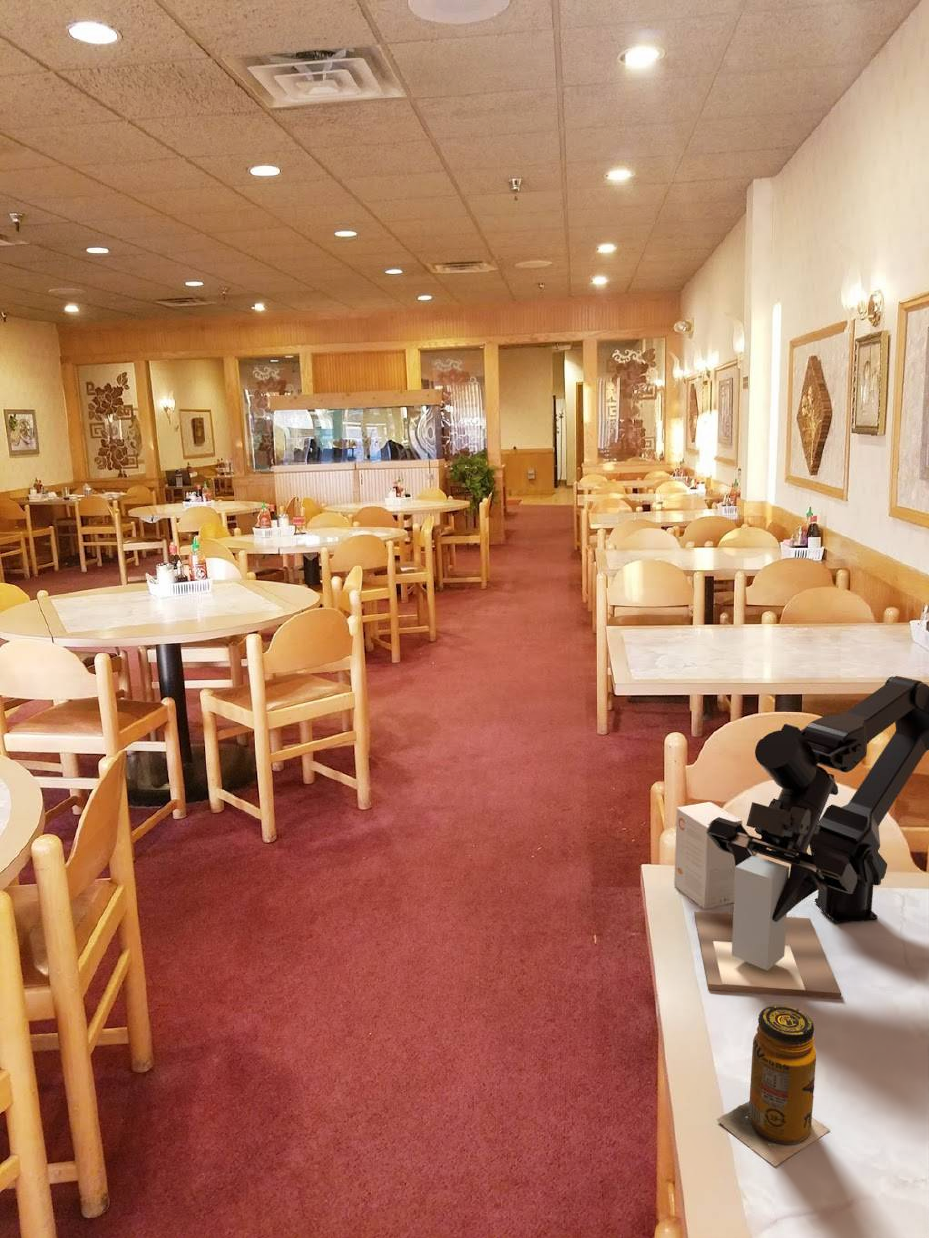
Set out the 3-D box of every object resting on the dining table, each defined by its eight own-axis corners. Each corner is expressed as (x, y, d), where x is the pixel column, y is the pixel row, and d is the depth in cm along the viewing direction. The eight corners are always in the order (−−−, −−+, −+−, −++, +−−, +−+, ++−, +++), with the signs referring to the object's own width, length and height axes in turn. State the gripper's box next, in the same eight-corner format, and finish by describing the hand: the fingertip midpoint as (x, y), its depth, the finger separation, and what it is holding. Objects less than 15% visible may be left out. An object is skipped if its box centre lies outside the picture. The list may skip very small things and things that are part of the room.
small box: (739, 902, 139) (743, 820, 136) (704, 910, 137) (707, 827, 134) (707, 878, 146) (710, 800, 144) (672, 886, 144) (675, 806, 142)
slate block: (748, 941, 124) (753, 854, 122) (784, 956, 121) (789, 867, 118) (731, 955, 121) (735, 866, 119) (767, 970, 118) (772, 879, 115)
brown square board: (694, 916, 135) (694, 911, 135) (809, 923, 133) (810, 917, 132) (708, 989, 118) (708, 983, 117) (841, 998, 115) (841, 992, 115)
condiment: (830, 1131, 94) (837, 1024, 91) (774, 1168, 89) (781, 1057, 87) (770, 1089, 100) (776, 988, 97) (716, 1122, 95) (720, 1017, 93)
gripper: (716, 760, 126) (668, 863, 120) (853, 797, 113) (806, 914, 107) (743, 798, 133) (698, 897, 127) (875, 837, 120) (832, 949, 114)
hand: (754, 913), depth 119 cm, fingers closed on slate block, 5 cm apart
